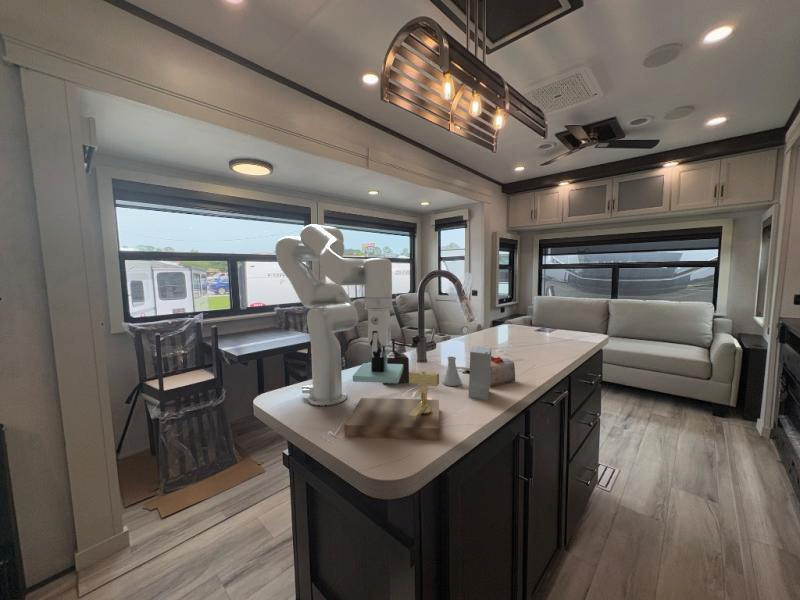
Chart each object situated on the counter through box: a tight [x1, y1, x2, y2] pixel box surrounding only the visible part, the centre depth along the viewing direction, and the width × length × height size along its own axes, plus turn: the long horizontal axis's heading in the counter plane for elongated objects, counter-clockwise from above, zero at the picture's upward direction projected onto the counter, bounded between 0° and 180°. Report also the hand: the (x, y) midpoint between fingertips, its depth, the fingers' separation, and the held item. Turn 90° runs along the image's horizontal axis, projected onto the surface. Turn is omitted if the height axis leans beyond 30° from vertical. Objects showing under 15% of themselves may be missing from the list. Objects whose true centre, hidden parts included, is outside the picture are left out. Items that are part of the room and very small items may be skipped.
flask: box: [441, 356, 462, 387], centre depth 117 cm, size 7×7×10 cm
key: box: [408, 369, 440, 420], centre depth 82 cm, size 11×8×11 cm
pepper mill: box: [382, 334, 422, 385], centre depth 123 cm, size 16×11×18 cm
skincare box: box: [468, 345, 492, 400], centre depth 105 cm, size 8×7×16 cm
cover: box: [352, 350, 403, 384], centre depth 86 cm, size 12×12×6 cm
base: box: [343, 397, 440, 441], centre depth 87 cm, size 24×18×3 cm
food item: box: [490, 355, 517, 388], centre depth 117 cm, size 14×8×10 cm, turn 116°
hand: (379, 369), depth 87 cm, fingers closed on cover, 3 cm apart
